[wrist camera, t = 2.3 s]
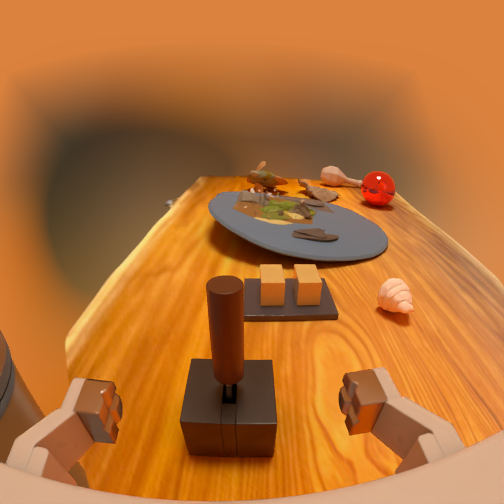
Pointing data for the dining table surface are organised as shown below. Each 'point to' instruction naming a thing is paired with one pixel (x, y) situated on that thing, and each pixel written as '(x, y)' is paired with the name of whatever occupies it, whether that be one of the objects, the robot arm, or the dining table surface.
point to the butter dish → (288, 295)
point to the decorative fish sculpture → (264, 179)
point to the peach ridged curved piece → (395, 296)
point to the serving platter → (298, 226)
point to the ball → (378, 188)
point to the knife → (226, 330)
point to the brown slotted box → (230, 412)
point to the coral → (319, 192)
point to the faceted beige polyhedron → (337, 177)
